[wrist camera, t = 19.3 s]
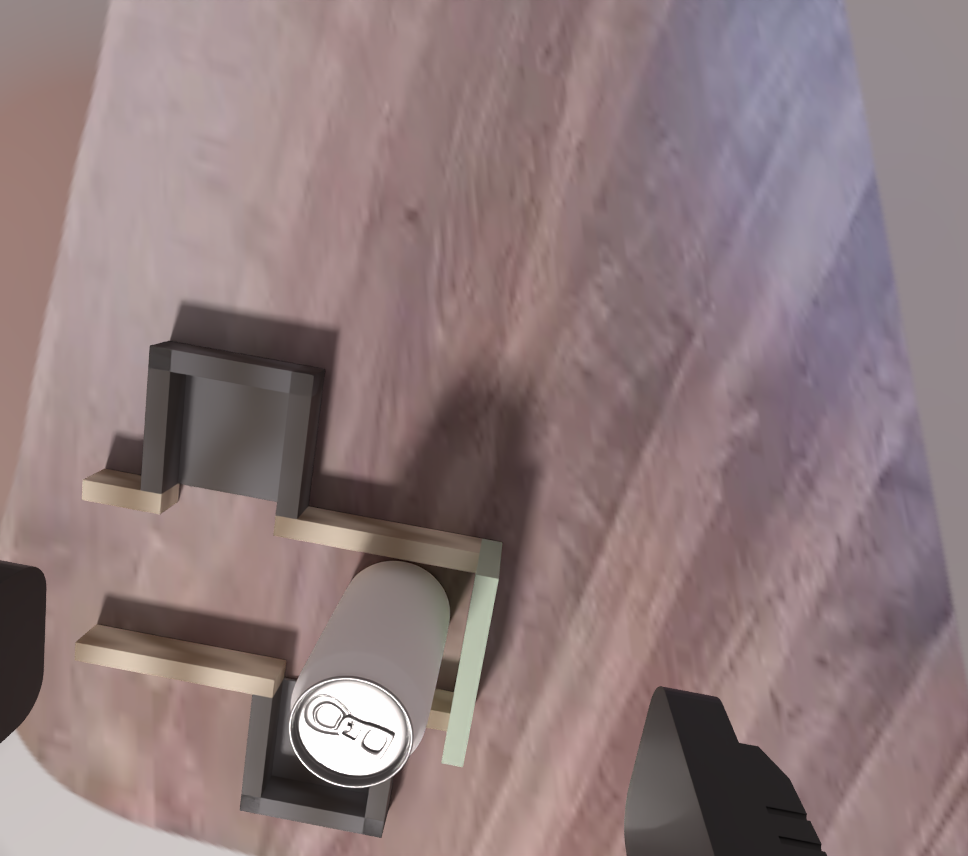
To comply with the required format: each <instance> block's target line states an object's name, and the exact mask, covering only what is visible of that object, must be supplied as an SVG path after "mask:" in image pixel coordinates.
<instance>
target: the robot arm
mask: <svg viewBox="0 0 968 856" xmlns="http://www.w3.org/2000/svg"><path fill="white" fill-rule="evenodd" d="M45 615H46V580H45V576H44V574H43V572H42V571H41V570H40V569H39V568H37V567H33V566H28V565H22V564H17V563H12V562H7V561H1V560H0V743H1V742H2V741H3V740H5V739H6V738H7V737H8V736H9V735H10V734H11V733H12V732H13V731H14V730H15V729H16V728H18V726H19V725H20V724H21V723H22V722H23V721H24V720H25V718H26V717H27V716H28V714H29V713H30V711H31V709H32V708H33V706H34V704H35V702H36V699H37V697H38V694H39V692H40V689H41V685H42V680H43V672H44V644H45ZM806 815H807V814H806V811H805V809H804V807H803V805H802V803H801V801H800V799H799V797H798V795H797V793H796V791H795V789H794V787H793V785H792V783H791V781H790V779H789V778H788V777H787V776H786V775H785V774H784V773H783V772H782V771H781V770H780V768H779V767H778V766H777V765H776V764H775V763H774V762H773V761H772V760H771V759H770V758H769V757H768V756H767V755H766V754H765V753H764V752H763V751H762V750H761V749H760V748H759V747H758V746H752V745H747V744H742V743H739V742H738V740H737V737H736V735H735V732H734V730H733V728H732V725H731V723H730V721H729V718H728V716H727V713H726V711H725V709H724V706H723V704H722V702H721V700H720V699H719V698H718V697H715V696H709V695H704V694H699V693H693V692H688V691H683V690H677V689H672V688H667V687H662V686H659V687H658V688H657V689H656V690H655V692H654V694H653V696H652V699H651V702H650V705H649V709H648V713H647V717H646V721H645V725H644V729H643V733H642V737H641V741H640V745H639V749H638V753H637V756H636V760H635V764H634V768H633V772H632V776H631V780H630V784H629V788H628V793H627V799H626V806H625V819H624V836H625V847H626V853H627V856H827V854H826V852H822V851H821V842H820V840H819V838H818V836H817V834H816V832H815V830H814V828H813V826H812V824H811V822H810V821H807V819H806Z"/></svg>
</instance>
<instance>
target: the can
mask: <svg viewBox="0 0 968 856" xmlns="http://www.w3.org/2000/svg"><path fill="white" fill-rule="evenodd" d="M449 621H450V606H449V601H448V598H447V595H446V593H445V591H444V589H443V587H442V586H441V584H440V583H439V582H438V581H437V580H436V578H435V577H433V576H432V575H431V574H430V573H429V572H427V571H426V570H424V569H423V568H421V567H419V566H417V565H414V564H411V563H407V562H403V561H385V562H380V563H376V564H373V565H371V566H369V567H367V568H365V569H364V570H362V571H361V572H359V573H358V574H357V575H356V576H355V577H354V578H353V580H352V581H351V582H350V584H349V586H348V587H347V589H346V591H345V592H344V594H343V596H342V598H341V600H340V601H339V603H338V605H337V607H336V609H335V610H334V612H333V614H332V616H331V618H330V619H329V621H328V623H327V625H326V627H325V629H324V630H323V632H322V634H321V636H320V638H319V640H318V641H317V643H316V645H315V647H314V649H313V651H312V653H311V654H310V656H309V658H308V660H307V662H306V664H305V666H304V668H303V669H302V671H301V673H300V675H299V677H298V679H297V682H296V684H295V687H294V690H293V693H292V697H291V714H290V718H289V737H290V741H291V744H292V747H293V749H294V752H295V753H296V755H297V757H298V758H299V760H300V761H301V762H302V763H303V765H304V766H305V767H306V768H307V769H308V770H310V771H311V772H312V773H313V774H315V775H316V776H318V777H319V778H321V779H323V780H325V781H327V782H329V783H332V784H335V785H338V786H343V787H350V788H363V787H369V786H374V785H377V784H380V783H382V782H384V781H386V780H388V779H390V778H391V777H393V776H394V775H395V774H397V773H398V772H399V771H400V770H401V769H402V767H403V766H404V765H405V763H406V762H407V760H408V758H409V756H410V755H411V754H412V753H413V751H414V750H415V749H416V748H417V746H418V745H419V743H420V741H421V739H422V737H423V735H424V732H425V729H426V726H427V722H428V718H429V714H430V710H431V706H432V701H433V697H434V692H435V688H436V683H437V679H438V674H439V670H440V665H441V660H442V656H443V651H444V646H445V642H446V637H447V632H448V627H449Z"/></svg>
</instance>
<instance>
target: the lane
mask: <svg viewBox="0 0 968 856" xmlns="http://www.w3.org/2000/svg"><path fill="white" fill-rule="evenodd" d="M324 374H325V369H322V368H316V367H311V366H305V365H300V364H294V363H289V362H283V361H278V360H272V359H267V358H261V357H256V356H250V355H245V354H239V353H233V352H228V351H222V350H217V349H211V348H206V347H200V346H195V345H189V344H184V343H178V342H173V341H167V342H163V343H159V344H155V345H150V350H149V366H148V381H147V397H146V412H145V428H144V443H143V459H142V474H141V475H136V474H131V473H126V472H120V471H115V470H109V469H103V470H101V471H99V472H97V473H95V474H93V475H91V476H89V477H87V478H85V479H83V487H82V500H85V501H91V502H96V503H102V504H107V505H112V506H118V507H123V508H128V509H134V510H139V511H145V512H150V513H155V514H161V513H163V512H164V511H166V510H167V509H168V508H170V507H171V506H173V505H174V504H175V503H177V502H178V496H179V484H183V485H189V486H194V487H199V488H205V489H210V490H216V491H221V492H226V493H232V494H237V495H243V496H248V497H253V498H259V499H264V500H270V501H275V502H277V508H276V517H275V526H274V535H273V536H279V537H284V538H290V539H295V540H300V541H306V542H311V543H316V544H322V545H327V546H332V547H338V548H343V549H349V550H354V551H359V552H365V553H370V554H375V555H381V556H386V557H392V558H397V559H402V560H408V561H413V562H418V563H424V564H429V565H435V566H440V567H445V568H451V569H456V570H461V571H467V572H472V573H476V570H477V565H478V559H479V554H480V548H481V542H482V538H477V537H471V536H466V535H460V534H455V533H450V532H444V531H439V530H433V529H428V528H423V527H417V526H412V525H406V524H401V523H396V522H390V521H385V520H379V519H374V518H369V517H363V516H358V515H352V514H347V513H342V512H336V511H331V510H325V509H320V508H315V507H309V506H308V505H309V497H310V489H311V481H312V473H313V464H314V456H315V448H316V440H317V432H318V423H319V415H320V407H321V399H322V391H323V382H324ZM502 543H503V542H502ZM501 553H502V552H501ZM75 660H76V661H81V662H86V663H91V664H96V665H102V666H107V667H112V668H117V669H123V670H128V671H133V672H138V673H144V674H149V675H154V676H159V677H165V678H170V679H175V680H180V681H186V682H191V683H196V684H201V685H206V686H212V687H217V688H222V689H227V690H233V691H238V692H243V693H248V694H252V703H251V712H250V721H249V730H248V739H247V748H246V757H245V767H244V776H243V785H242V794H241V803H240V810H241V811H246V812H251V813H256V814H261V815H266V816H271V817H277V818H282V819H287V820H292V821H297V822H302V823H307V824H313V825H318V826H323V827H328V828H333V829H338V830H343V831H349V832H354V833H359V834H364V835H369V836H374V837H379V838H381V837H382V833H383V829H384V825H385V821H386V817H387V814H388V809H389V803H390V797H391V791H392V784H393V778H394V776H393V777H391V778H390V779H388V780H386V781H384V782H382V783H380V784H377V785H374V786H369V787H363V788H350V787H343V786H338V785H335V784H332V783H329V782H327V781H325V780H323V779H321V778H319V777H318V776H316V775H315V774H313V773H312V772H311V771H310V770H308V769H307V768H306V767H305V766H304V765H303V763H302V762H301V761H300V760H299V758H298V757H297V755H296V753H295V752H294V749H293V747H292V744H291V741H290V737H289V718H290V714H291V697H292V693H293V690H294V687H295V684H296V682H297V680H295V679H290V678H285V677H284V676H285V668H286V660H282V659H277V658H272V657H266V656H261V655H256V654H250V653H245V652H240V651H235V650H229V649H224V648H219V647H214V646H208V645H203V644H198V643H192V642H187V641H182V640H177V639H171V638H166V637H161V636H156V635H150V634H145V633H140V632H134V631H129V630H124V629H119V628H113V627H108V626H103V625H98V624H96V625H95V626H94V627H93V628H92V629H91V630H89V631H88V632H87V633H86V634H85V635H84V636H82V637H81V638H80V639H79V640H78V641H77V642H76V643H75ZM453 695H454V692H451V691H445V690H440V689H435V692H434V697H433V701H432V706H431V710H430V714H429V718H428V722H427V726H426V728H432V729H437V730H442V731H447V729H448V723H449V718H450V712H451V707H452V701H453Z"/></svg>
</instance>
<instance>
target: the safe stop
mask: <svg viewBox="0 0 968 856" xmlns="http://www.w3.org/2000/svg"><path fill="white" fill-rule="evenodd" d="M501 552H502V542H498V541H493V540H487V539H482V542H481V548H480V554H479V559H478V565H477V570H476V575H475V580H474V586H473V591H472V597H471V602H470V608H469V613H468V619H467V624H466V630H465V635H464V640H463V646H462V651H461V657H460V662H459V668H458V673H457V679H456V684H455V690H454V695H453V701H452V707H451V712H450V718H449V723H448V729H447V734H446V740H445V746H444V751H443V757H442V762H441V763H443V764H449V765H454V766H459V767H463V763H464V758H465V753H466V748H467V743H468V737H469V732H470V727H471V722H472V716H473V711H474V706H475V701H476V695H477V690H478V685H479V680H480V675H481V669H482V664H483V659H484V654H485V648H486V643H487V638H488V633H489V627H490V622H491V617H492V612H493V607H494V601H495V596H496V591H497V586H498V580H499V572H500V562H501Z"/></svg>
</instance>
